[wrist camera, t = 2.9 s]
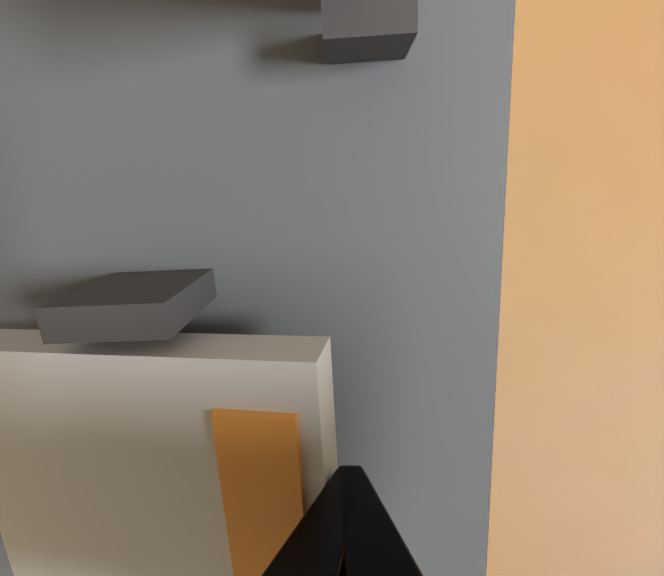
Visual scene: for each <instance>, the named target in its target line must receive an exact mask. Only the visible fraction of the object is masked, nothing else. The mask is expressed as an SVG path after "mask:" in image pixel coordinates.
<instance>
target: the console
mask: <svg viewBox="0 0 664 576" xmlns="http://www.w3.org/2000/svg"><path fill="white" fill-rule="evenodd" d="M514 19H515V0H0V329H31V330H40V334H41V338H42V342H43V344H67V343H96V342H124V341H153V340H171V339H172V338H173V337H174V336H175V335H176V334H177V333H203V334H246V335H289V336H330V342H331V359H332V377H333V394H334V411H335V428H336V445H337V462H338V467H339V466H341V465H359V466H362V468H363V469H364V471H365V473H366V474H367V476H368V478H369V480H370V481H371V483H372V485H373V487H374V489H375V490H376V492H377V494H378V496H379V497H380V499H381V501H382V503H383V505H384V506H385V508H386V510H387V512H388V513H389V515H390V517H391V519H392V521H393V522H394V524H395V526H396V528H397V529H398V531H399V533H400V535H401V537H402V538H403V540H404V542H405V544H406V545H407V547H408V549H409V551H410V553H411V554H412V556H413V558H414V560H415V561H416V563H417V565H418V567H419V569H420V570H421V572H422V574H423V576H486V567H487V547H488V528H489V508H490V488H491V469H492V449H493V430H494V410H495V391H496V371H497V351H498V332H499V312H500V293H501V273H502V254H503V234H504V214H505V195H506V175H507V156H508V136H509V117H510V97H511V77H512V58H513V38H514ZM0 576H14V575H13V572H12V569H11V565H10V562H9V559H8V556H7V553H6V549H5V546H4V543H3V540H2V537H1V533H0Z"/></svg>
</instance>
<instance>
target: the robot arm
mask: <svg viewBox="0 0 664 576" xmlns="http://www.w3.org/2000/svg"><path fill="white" fill-rule="evenodd" d="M262 576H423V574H422V572H421V570H420V569H419V567H418V565H417V563H416V561H415V560H414V558H413V556H412V554H411V553H410V551H409V549H408V547H407V545H406V544H405V542H404V540H403V538H402V537H401V535H400V533H399V531H398V529H397V528H396V526H395V524H394V522H393V521H392V519H391V517H390V515H389V513H388V512H387V510H386V508H385V506H384V505H383V503H382V501H381V499H380V497H379V496H378V494H377V492H376V490H375V489H374V487H373V485H372V483H371V481H370V480H369V478H368V476H367V474H366V473H365V471H364V469H363V468H362V466H359V465H341V466H339V467H338V468H337V469H336V471H335V472H334V473H333V475H332V476H331V478H330V479H329V480H328V482H327V483H326V485H325V486H324V488H323V489H322V490H321V492H320V493H319V495H318V496H317V498H316V499H315V500H314V502H313V503H312V505H311V506H310V507H309V509H308V510H307V512H306V513H305V515H304V516H303V517H302V519H301V520H300V522H299V523H298V524H297V526H296V527H295V529H294V530H293V532H292V533H291V534H290V536H289V537H288V539H287V540H286V541H285V543H284V544H283V546H282V547H281V549H280V550H279V551H278V553H277V554H276V556H275V557H274V559H273V560H272V561H271V563H270V564H269V566H268V567H267V568H266V570H265V571H264V573H263V574H262Z"/></svg>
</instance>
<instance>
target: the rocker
mask: <svg viewBox="0 0 664 576" xmlns="http://www.w3.org/2000/svg"><path fill="white" fill-rule="evenodd" d="M337 468H338V462H337V445H336V428H335V411H334V394H333V377H332V359H331V342H330V336H289V335H246V334H203V333H177V334H176V335H175V336H174V337H173V338H172V339H171V340H153V341H124V342H96V343H67V344H43V342H42V338H41V334H40V330H31V329H0V533H1V537H2V540H3V543H4V546H5V549H6V553H7V556H8V559H9V562H10V565H11V569H12V572H13V575H14V576H262V574H263V573H264V571H265V570H266V568H267V567H268V566H269V564H270V563H271V561H272V560H273V559H274V557H275V556H276V554H277V553H278V551H279V550H280V549H281V547H282V546H283V544H284V543H285V541H286V540H287V539H288V537H289V536H290V534H291V533H292V532H293V530H294V529H295V527H296V526H297V524H298V523H299V522H300V520H301V519H302V517H303V516H304V515H305V513H306V512H307V510H308V509H309V507H310V506H311V505H312V503H313V502H314V500H315V499H316V498H317V496H318V495H319V493H320V492H321V490H322V489H323V488H324V486H325V485H326V483H327V482H328V480H329V479H330V478H331V476H332V475H333V473H334V472H335V471H336V469H337Z"/></svg>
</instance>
